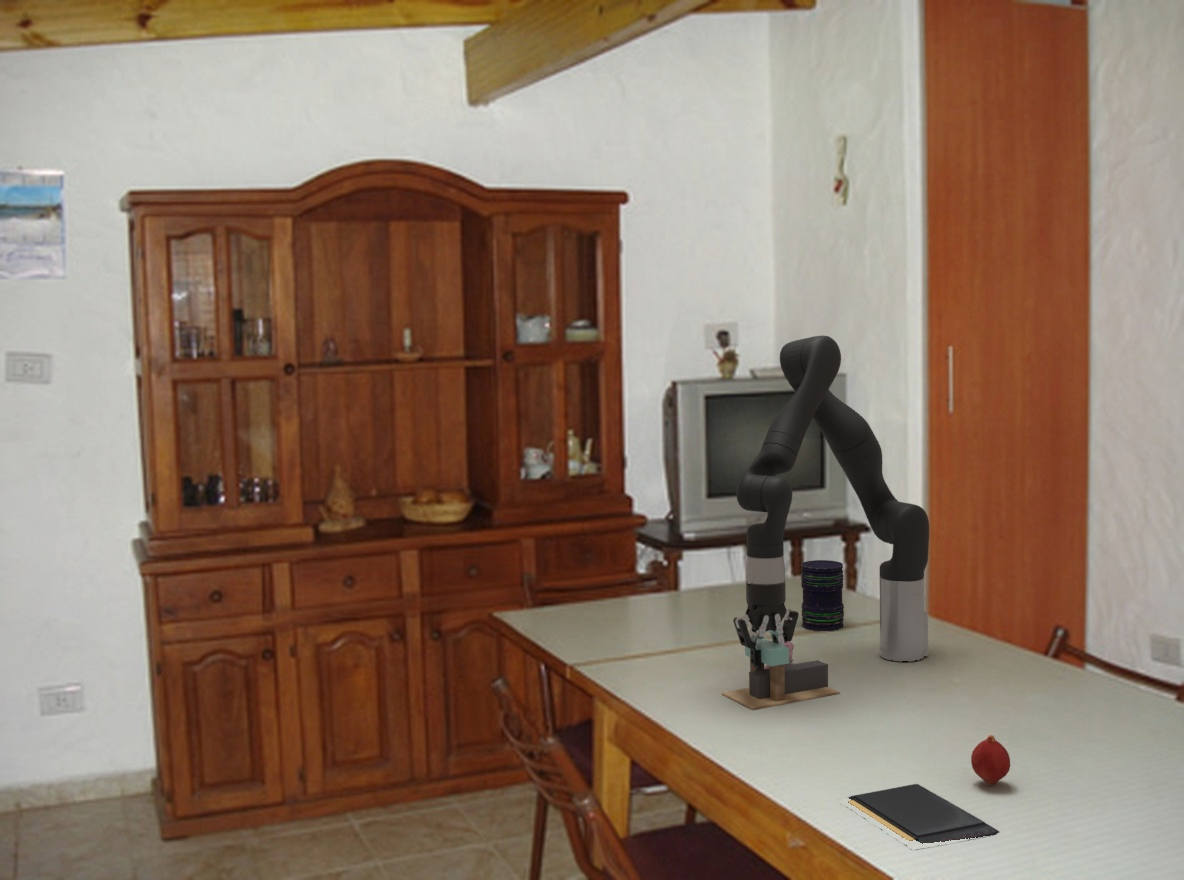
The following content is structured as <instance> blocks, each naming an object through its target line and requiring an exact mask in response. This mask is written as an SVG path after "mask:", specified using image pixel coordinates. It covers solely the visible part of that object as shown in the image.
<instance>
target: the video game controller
mask: <svg viewBox="0 0 1184 880" xmlns="http://www.w3.org/2000/svg"><path fill="white" fill-rule="evenodd" d="M783 646H785V647H788V648H789V663H788V664H784V666H786V665H792V664H794V658H793V650H794V648H795V644H793V642H791V641H790V642H789V641H788V642H786V643H785V644H784V645H783ZM769 668H770V666H769V665H767V664H766V666H764V669H769Z"/></svg>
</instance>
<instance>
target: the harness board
mask: <svg viewBox="0 0 1184 880" xmlns="http://www.w3.org/2000/svg"><path fill="white" fill-rule="evenodd" d="M763 669H765V663H762V668H759V669H757V668H755V667H753V665H752V664H751V662H750V661H749V672H751V671H757V670H763ZM839 694H841V691H839V690H837V689H835V688H832V687H830V686H828V687H824V688H818V689H813V690H807V691H802V692H796V693H791V694H785V667H784V664H783V665H777V666H770V697H769V698H764V699H758V698H756V697H754V696H751V695H749V687H747V688H741V689H735V690H729V691H724V692H721V696H724V697H726V698H727V697H728V698H727V699H730V700H731V701H734V702H736V703H737V704H740V705H741V706H743V707H745V708H748V709H750V710H751V711H754V710H759V709H766V708H770V707H775V706H781V705H785V704H791V703H798V702H801V701H807V700H812V699H818V698H824V697H828V696H833V695H839Z"/></svg>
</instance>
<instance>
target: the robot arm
mask: <svg viewBox="0 0 1184 880" xmlns="http://www.w3.org/2000/svg"><path fill="white" fill-rule="evenodd" d="M841 352H842V351H841V349H840V346H839V345H838V343H837V341H836V340H835V339H834V338H832V337H830V336H828V335H815V336H810V337H806V338H801V339H797V340H793V341H790V342H787V343H786V344H784V345H783V346H782V348H781V349H780V353H779V364H780V368H781V371H782V373H783V376H784V378H785V379H786V380H787V382H788V384H789V385H790V387H791V388H792V389H793V391H794V394H793V396H792V397H791V398H790V399H789V400H788V402H786V404H785V405H784V406H783V408H782V409H781V410H780V411H779V412H778V413H777V414H776V416H775V417H774V419H773V420H772V422H771V423H770V425H769V427H768V429H767V431H766V434H765V438H764V440H763V443H762V445H761V447H760V451H759V453H758V454H757V455H756V457H754V459H753V460H752V462H751V463H750V464H749V466H748V467H747V468H746V470H745V471H744V473H743V474H742V475H741V477H740V479H739V481H738V484H737V486H736V494H735V495H736V496H735V497H736V501H737V503H738V505H739V506H740V508H741V509H743V510H745V511H748V512H756V513H767V516H766V519H765V521H764V522H760V523H755V524H751V525H750V526H748V528H747V530H746V563H745V593H746V594H745V595H746V596H745V600H746V605H747V607H746V611H745V614H744V615H742V616H740V617H737V616H736V617H734V618H733V625H734V627H735V631H736V634H737V636H738V639H739V642H740V644H741V646H744V647H745V646H746V647H748V648H750V657H749V663H750V662H751V664H752V665H753V667H755V668H757V669H759V668H762V662H761V650H760V648H761V643H762V639H763V638H765V635H766V632H769V634H770V637H771V641H773V642H775V643H778V644H780V645H784V644H785V643H786V642H791V641H793V637H794V633H795V629H796V626H797V624H798V619H799V612H798V611H796V610H793V609H791V608H789V609H787V607H786V605H785V603H786V599H787V598H786V562H785V558H784V557H785V556H784V553H785V552H784V549H785V548H784V533H785V528H786V523H787V519H788V517H789V516H788V515H789V512H790V509H791V505H792V500H793V490H792V486H791V484H790V482H789V481H788V480H787V479H786V478H785V477H783V476H781V474H786V473H788V472H790V471H791V470H793V467H794V466H795V463H796V461H797V458H798V456H799V455H798V454H799V452H800V449H801V447H802V443H803V440H804V437H805V436H806V433H807V430H808V428H809V426H810V424H811V422H812V420H814V422H815V423H816V425H817V427H818V428H819V430H820V432H821V434H822V435H823V437H824V438H825V440H826V442H827V444H828V446H829V448H830V450H831V452H832V454H833V456H834V457H835V460H836V461H837V463H838V464H839V466H840V467H841V468H842V471H843V473H844V474H845V475H846V478H847V480H848V482H849V484H850V485H851V487H852V489H853V490H854V493H855V494H856V496H857V497H858V499H859V502H860V505H861V507H862V509H863V512H864V514H865V516H866V519H867V522H868V523H869V526H870V527H871V528H870V529H871V530H872V532H873V533H874V535H875V536H876V538H877V539H878V540H880V541H882V542H884V543H886V544H890V545H892V556H891V558H890V559H888V560H885V561H883V562H881V563H880V565H879V655H880V657H881V658H883V659H884V660H888V661H892V660H893V662H902V661H908V662H915V660H917V661H920V659H921V660H923V659H924V658H925V657H924V656H926V657H929V613H928V612H927V611H925V571H926V568H927V564H928V561H929V551H930V550H929V547H930V522H929V521H930V520H929V516H928V514H927V512H926V511H925V509H924V508H923V507H922V506H920V505H917V504H914V503H907V502H903V501H899V500H898V499H897V498H896V497H895V496H894V495H893V493H892V491H891V490H890V488H889V486H888V485H887V482H886V481H885V478H884V474H883V451H882V447H881V445H880V441H879V440H878V438H877V437H876V435H875V434H874V431H873V429H872V428H871V426H870V424H869V422H868V421H867V420H866V419H865V418H864V417H863V416H862V415H861V414H860V413H858V412H857V411H856V410H855V409H853V408H852V407H850V406H849V405H848V404H846V403H845V402H844V401H842V400H841V399H840V398H838V397H837V396H836V395H835V394H834V393H833V392H832V391H831V390H830V388H831V386H832V384H833V382H834V381H835V379H836V377H837V375H838V372H839V370H840V367H841V365H842V364H841V363H842V353H841ZM778 475H780V476H778ZM782 621H783V622H782ZM749 623H750V625H749ZM782 623H783V624H782ZM749 626H750V628H749V629H748V627H749ZM922 658H923V659H922Z"/></svg>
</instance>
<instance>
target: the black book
mask: <svg viewBox="0 0 1184 880" xmlns="http://www.w3.org/2000/svg"><path fill="white" fill-rule="evenodd" d="M847 798H849V799H851V800H850V801H848V803H850V804H851V805H853V806H855V807H856V808H858V809H859V810H861V811H862V812H864V813H866V814H867V815H869V816H870V817H872V818H874V819H875V820H877V821H878V822H880V823H881V824H883V825H884V826H886V827H887V828H889V829H890V830H892V831H893V832H895V833H896V834H898V835H900V836H901V837H902V838H905V839H906V840H909V841H913V840H916V841H918V842H920V843H922V844H923V843H934V842H940V841H941V842H945V841H949V840H950V841H951V840H960V839H965V838H966V839H968V838H969V839H970V838H975V837H976V838H978V837H983V836H988V837H992V836H995V835H997V833H998V834H1000V830H998V829H996V828H995V827H993V826H991V825H990V824H988V823H987V822H986V821H983V820H982V819H981V818H978V817H977V816H975V815H973V814H971V813H970V812H968V811H966V810H965V809H962V808H961V807H959V806H958V805H955V804H954V803H952V802H951V801H948V800H946V799H945V798H944V797H942V796H940V795H938V794H937V793H934V792H933V791H931V790H929V789H928V788H926V787H924V786H922V785H920V784H918V783H913V784H908V785H907V784H906V785H902V786H897V787H892V788H887V789H883V790H877V791H871V792H865V793H861V794H855V795H850V796H848V797H847ZM991 835H992V836H991ZM983 838H984V837H983ZM978 839H979V838H978Z"/></svg>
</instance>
